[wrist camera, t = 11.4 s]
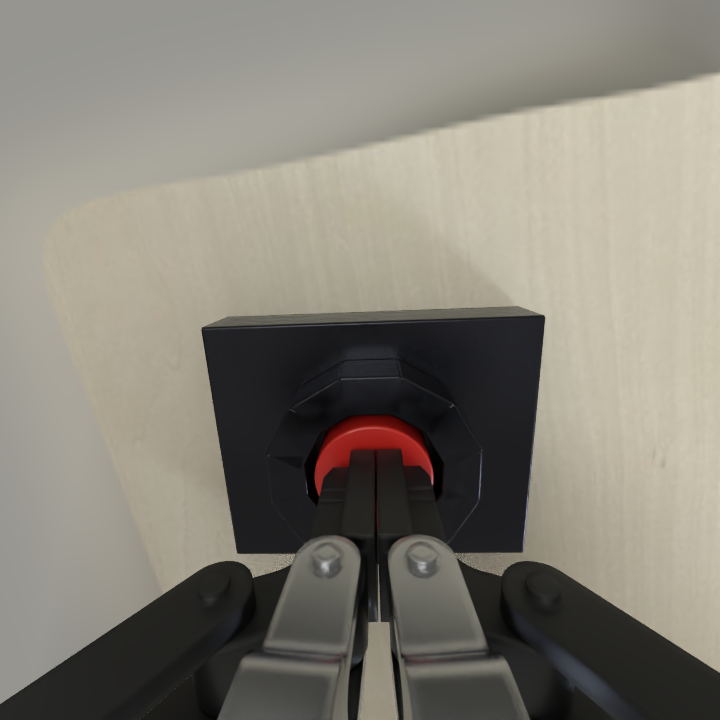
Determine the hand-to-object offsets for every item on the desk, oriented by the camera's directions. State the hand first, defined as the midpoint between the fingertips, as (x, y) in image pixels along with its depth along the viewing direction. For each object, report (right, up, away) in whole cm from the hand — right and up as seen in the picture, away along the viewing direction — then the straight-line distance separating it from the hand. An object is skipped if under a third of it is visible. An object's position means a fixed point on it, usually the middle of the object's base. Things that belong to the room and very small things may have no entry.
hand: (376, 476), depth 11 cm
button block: (0, +1, +4) cm, 4 cm away
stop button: (0, 0, +2) cm, 2 cm away
